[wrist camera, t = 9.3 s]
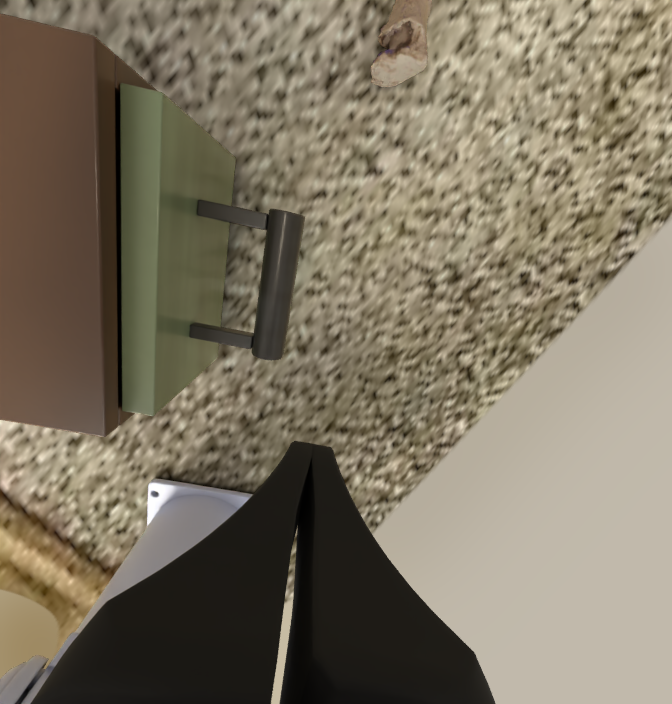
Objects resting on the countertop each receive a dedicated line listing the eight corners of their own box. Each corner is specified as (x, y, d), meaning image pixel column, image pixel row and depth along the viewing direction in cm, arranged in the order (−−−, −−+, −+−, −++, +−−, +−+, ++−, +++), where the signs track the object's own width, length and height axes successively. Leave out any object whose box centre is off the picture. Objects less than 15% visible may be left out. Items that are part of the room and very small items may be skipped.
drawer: (320, 176, 16) (307, 125, 9) (288, 371, 19) (261, 435, 12) (-35, 97, 15) (-328, -22, 8) (-7, 316, 18) (-203, 354, 11)
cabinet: (219, 143, 16) (94, 34, 8) (202, 358, 20) (104, 438, 11) (-67, 79, 15) (-533, -115, 7) (-31, 315, 19) (-315, 367, 11)
